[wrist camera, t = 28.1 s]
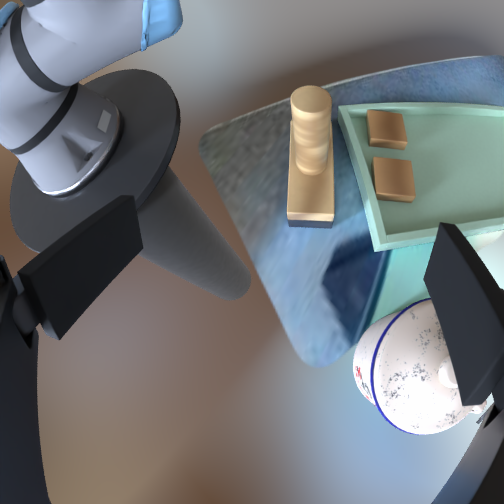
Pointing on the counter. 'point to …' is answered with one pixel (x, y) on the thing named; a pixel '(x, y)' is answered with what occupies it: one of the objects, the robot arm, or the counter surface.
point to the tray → (433, 170)
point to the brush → (311, 160)
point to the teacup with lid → (410, 371)
